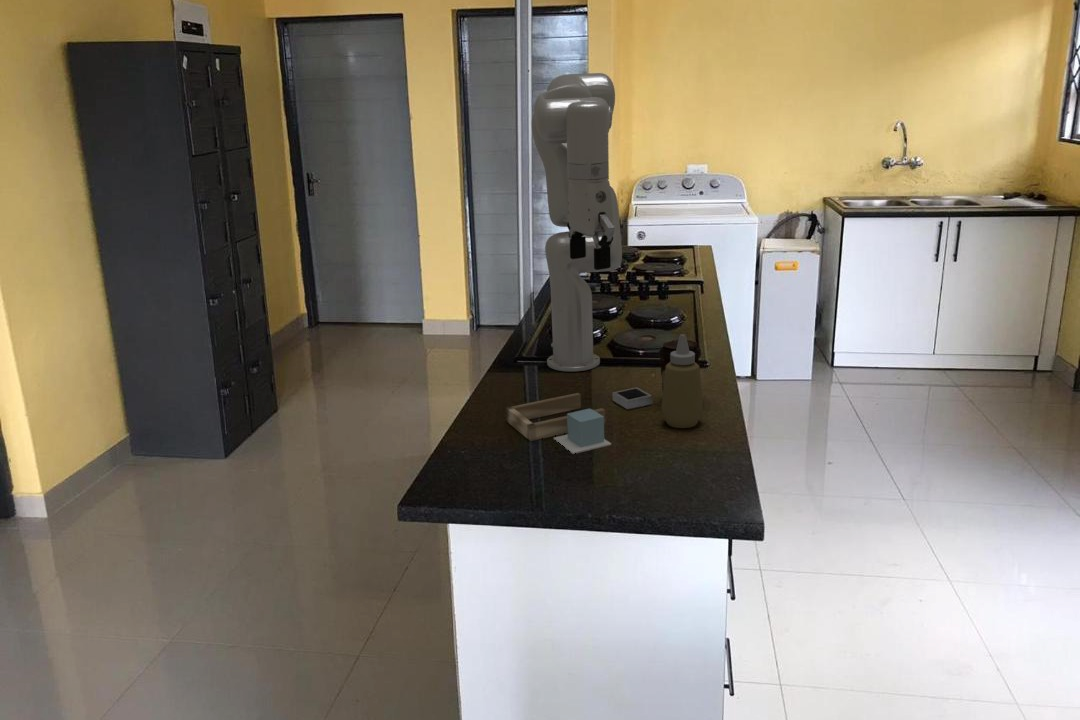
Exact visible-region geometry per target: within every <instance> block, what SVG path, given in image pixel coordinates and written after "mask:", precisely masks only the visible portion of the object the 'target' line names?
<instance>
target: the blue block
mask: <svg viewBox="0 0 1080 720" xmlns="http://www.w3.org/2000/svg"><path fill="white" fill-rule="evenodd" d="M594 410H595V409H592V408H590V407H589V408H586V409H581V410H576V411H574V412H572V411H571V412H568V413H567V414H566V416H567V427H568V433H567V434H568V439H570V440H571V441H573V442H574V443H575V444H577V445H578V446H580V447H585V446H589V445H593V444H596V443H600V442H604V439H605V425H604V416H602V415H600V414H599V413H597V412H595V411H594Z"/></svg>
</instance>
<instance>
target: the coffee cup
mask: <svg viewBox="0 0 1080 720" xmlns="http://www.w3.org/2000/svg"><path fill="white" fill-rule="evenodd" d="M678 340H679V339H677V340H671V341H666V342H663V344H662V345H663V346H662V347H661V348H660V350H659V352H658V353H659V360H660V363H659V364H660V376H661V389H662V391H663V386H664V377H665V368H666V365H667V364H668V363H670V354H671V352H673V351H676V349H677V345H678ZM687 343H688V347H689V351H692V352H694V353H695V363H697V364H698V365H699V360H700V356H701V353H702V350H701V348H699V347H698V342H696V341H693V340H690V339H687Z"/></svg>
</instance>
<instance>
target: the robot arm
mask: <svg viewBox="0 0 1080 720" xmlns="http://www.w3.org/2000/svg"><path fill="white" fill-rule="evenodd" d="M615 90H616V89H615V85H614V83H613V81H612V78H610V76H608V74H606V73H603V72H592V73H590V72H589V73H570V74H561V75H559V76H557V77H555V78H554V79H552V80H551V81H550V82H549V84H548V86H547V89H546V91H543V92H541V93H539V94H538V96H537V98H536V99H535V103H534V107H533V113H532V116H531V117H532V118H531V131H532V137H533V141H534V144H535V148H536V150H537V153H538V155H539V157H540V160H541V161H542V162H541V163H542V165H543V169H544V171H545V183H546V195H547V206H548V207H547V208H548V214H549V220H550V221H551V223H552V224H553V225H554V226H556V227H561V228H567V229H568V231H567V230H566V231H561V232H557V233H554V234H552V235H550V236H549V237H548V239H547V240H546V242H545V248H544V249H545V250H544V252H545V258H546V264H547V268H548V269H547V270H548V276H549V277H548V278H549V285H550V302H551V303H550V306H551V309H550V310H551V326H552V327H551V329H552V330H551V333H552V335H551V336H552V342H551V344H550V346H551V348H552V354H551V355H550V356H549V357H548V358H547V359H546V364H547V366H548V368H550V369H552V370H555V371H560V372H583V371H588V370H591V369H594V368H597V367H598V366H599V365H600V363H601V358H600V356H599V355H597V354H595V353H594V334H593V333H594V332H593V331H594V328H593V326H594V325H593V293H592V290H591V287H590V286H589V284H588V283H587V281H586V280H585V279H583V278H582V277H581V274H586V273H599V272H601V273H602V272H609V271H610V272H611V271H615V270H617V269H619V267H620V266H621V264H622V260H623V245H622V237H621V235H622V234H621V225H620V224H621V222H620V213H619V211H620V210H619V204H618V197H617V193H616V191H615V190H614V188H613V187H612V186H611V184H610V183H611V182H610V180H609V179H610V177H609V176H610V175H609V174H610V168H609V166H610V165H609V162H610V161H609V157H610V156H609V132H610V129H611V128H612V126H613V125H612V124H613V114H614V109H615V103H616V91H615ZM564 144H566V146H565V145H564Z"/></svg>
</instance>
